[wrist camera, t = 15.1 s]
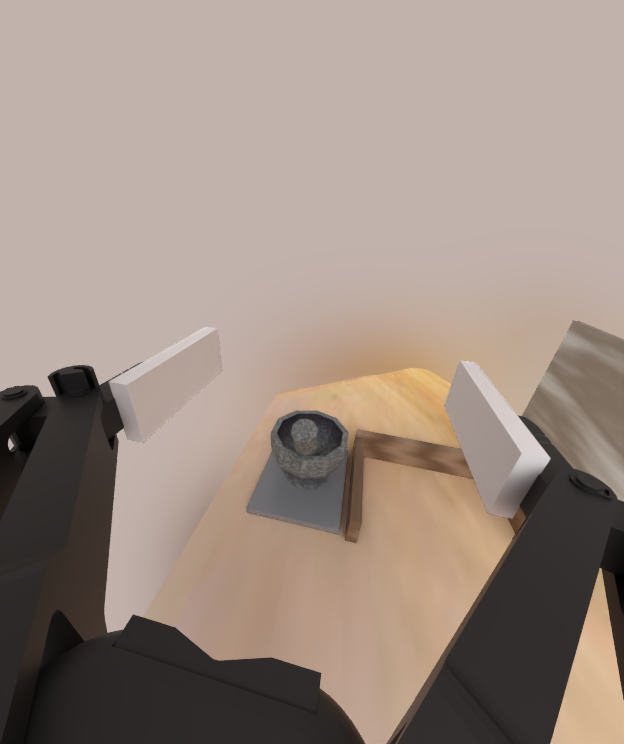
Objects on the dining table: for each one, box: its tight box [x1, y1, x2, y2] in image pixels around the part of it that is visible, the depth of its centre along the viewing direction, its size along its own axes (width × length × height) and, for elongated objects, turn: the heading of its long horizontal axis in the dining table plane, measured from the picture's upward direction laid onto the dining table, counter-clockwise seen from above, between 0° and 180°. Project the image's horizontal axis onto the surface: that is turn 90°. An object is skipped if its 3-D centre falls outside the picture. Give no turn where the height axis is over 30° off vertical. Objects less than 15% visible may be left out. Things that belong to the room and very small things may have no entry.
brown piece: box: [345, 321, 624, 543], centre depth 30 cm, size 21×15×24 cm
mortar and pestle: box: [271, 411, 348, 490], centre depth 34 cm, size 11×9×12 cm
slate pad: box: [247, 450, 348, 534], centre depth 37 cm, size 11×13×1 cm
